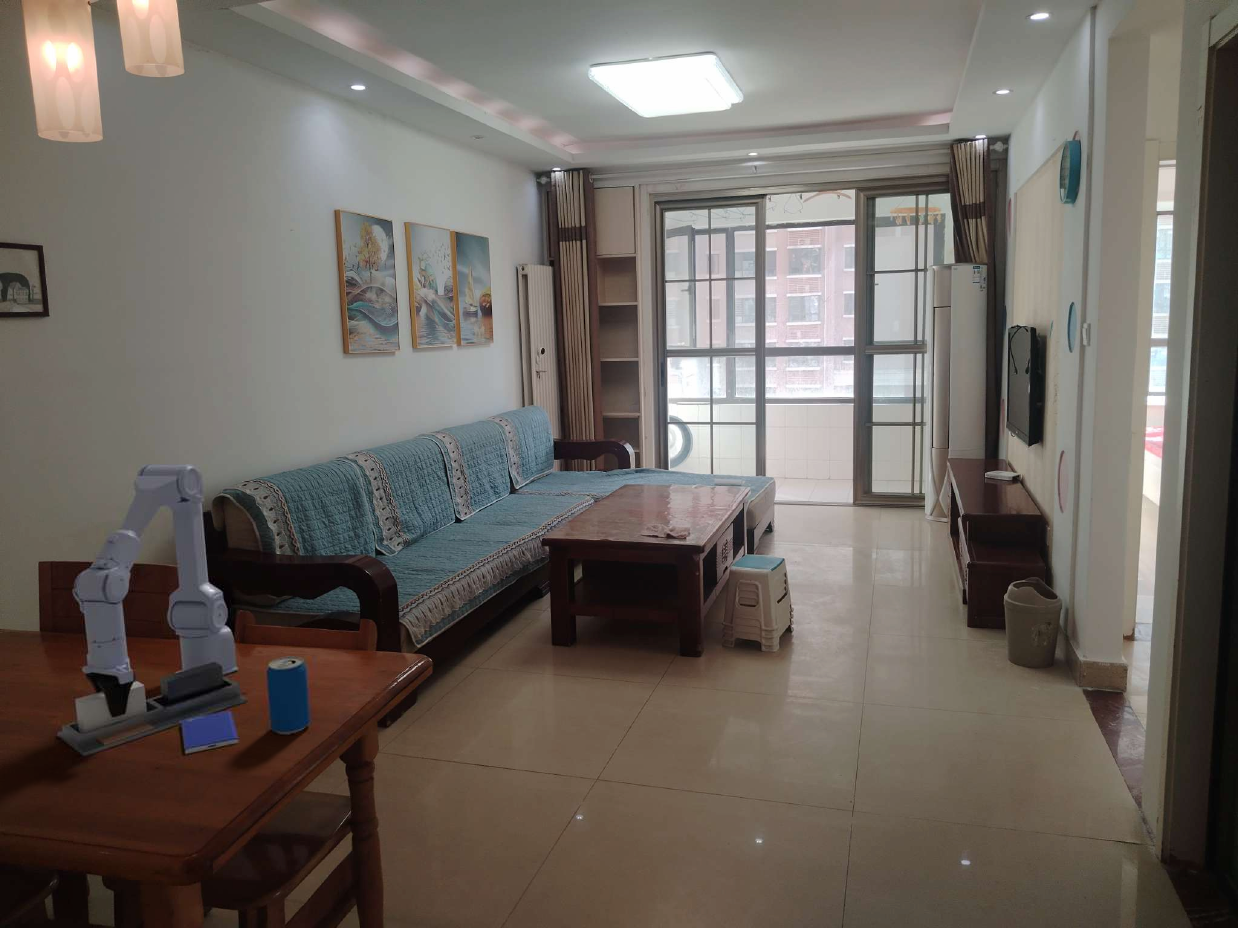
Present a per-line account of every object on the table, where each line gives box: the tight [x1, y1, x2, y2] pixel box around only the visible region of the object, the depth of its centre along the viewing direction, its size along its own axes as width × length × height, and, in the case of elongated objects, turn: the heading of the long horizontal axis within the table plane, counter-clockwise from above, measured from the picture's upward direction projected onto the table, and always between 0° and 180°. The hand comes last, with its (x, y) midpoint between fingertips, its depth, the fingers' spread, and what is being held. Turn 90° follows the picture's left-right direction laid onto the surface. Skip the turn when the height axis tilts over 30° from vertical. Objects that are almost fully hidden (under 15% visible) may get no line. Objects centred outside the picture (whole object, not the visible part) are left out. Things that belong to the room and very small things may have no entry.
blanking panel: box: [74, 680, 147, 734], centre depth 157 cm, size 10×3×6 cm, turn 140°
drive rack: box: [57, 662, 249, 757], centre depth 162 cm, size 28×12×7 cm, turn 140°
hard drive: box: [180, 710, 240, 755], centre depth 156 cm, size 2×8×12 cm
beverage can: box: [266, 656, 311, 735], centre depth 157 cm, size 6×6×12 cm
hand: (114, 712), depth 157 cm, fingers closed on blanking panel, 3 cm apart
